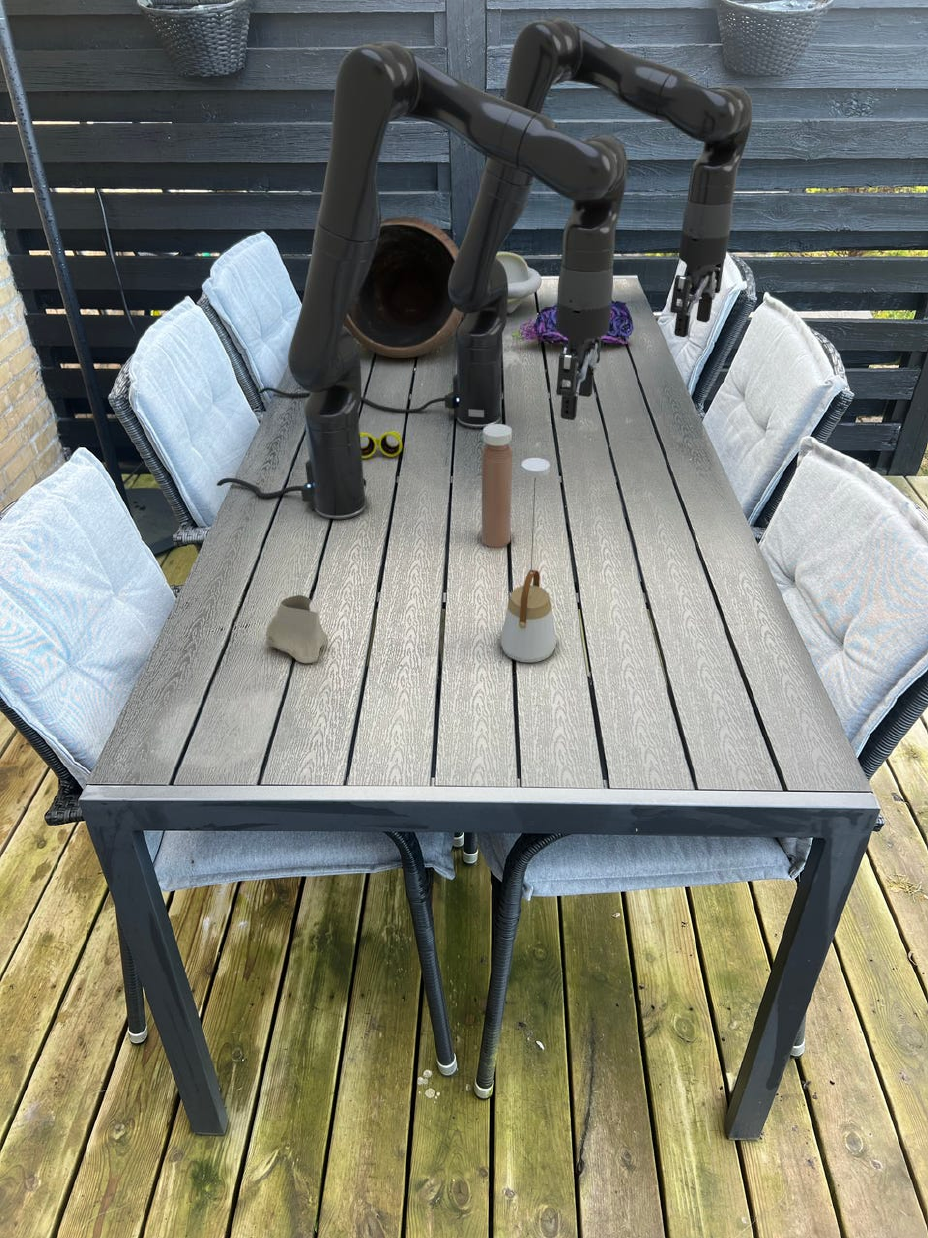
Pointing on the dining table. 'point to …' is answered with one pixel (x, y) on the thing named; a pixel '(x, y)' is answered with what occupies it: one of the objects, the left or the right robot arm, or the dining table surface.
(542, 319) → the decorative ornament
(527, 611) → the pendant light
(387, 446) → the opera glasses
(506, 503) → the bottle
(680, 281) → the right robot arm
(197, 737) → the dining table surface
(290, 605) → the grey hollow flared piece
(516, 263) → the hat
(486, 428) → the cap
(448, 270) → the pot
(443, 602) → the dining table surface
